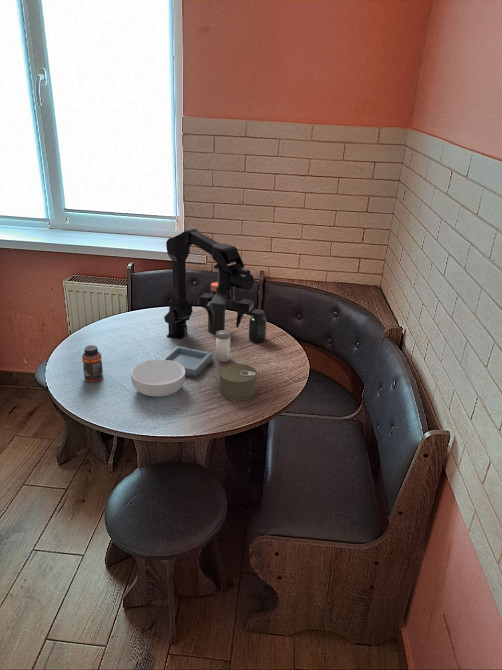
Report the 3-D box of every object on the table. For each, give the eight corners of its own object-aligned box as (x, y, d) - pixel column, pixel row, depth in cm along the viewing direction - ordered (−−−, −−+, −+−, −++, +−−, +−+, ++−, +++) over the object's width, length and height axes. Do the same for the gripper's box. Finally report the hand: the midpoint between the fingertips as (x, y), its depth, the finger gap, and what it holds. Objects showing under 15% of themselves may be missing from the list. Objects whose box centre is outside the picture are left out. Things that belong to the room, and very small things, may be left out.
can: (220, 380, 166) (220, 362, 163) (256, 382, 166) (257, 364, 163) (217, 399, 155) (217, 380, 152) (255, 402, 155) (256, 382, 152)
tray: (158, 369, 171) (157, 361, 170) (177, 353, 183) (176, 345, 182) (195, 377, 167) (195, 370, 166) (211, 360, 179) (212, 353, 178)
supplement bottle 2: (266, 336, 200) (267, 309, 195) (264, 343, 194) (266, 315, 189) (249, 335, 200) (250, 307, 196) (247, 342, 194) (248, 314, 189)
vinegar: (205, 332, 201) (205, 285, 193) (211, 326, 207) (212, 280, 199) (221, 335, 199) (222, 288, 191) (226, 328, 205) (228, 282, 197)
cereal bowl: (161, 410, 148) (160, 390, 145) (120, 393, 156) (119, 373, 153) (196, 387, 161) (196, 368, 158) (157, 372, 169) (156, 354, 166)
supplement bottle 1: (107, 376, 165) (104, 345, 160) (96, 384, 160) (93, 353, 155) (91, 372, 167) (88, 342, 162) (80, 380, 162) (77, 349, 157)
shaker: (213, 360, 179) (213, 334, 175) (218, 354, 184) (219, 329, 179) (226, 363, 178) (227, 337, 173) (232, 357, 182) (232, 331, 178)
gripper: (191, 286, 165) (191, 329, 171) (245, 294, 160) (243, 338, 166) (204, 277, 174) (203, 318, 181) (254, 284, 170) (252, 326, 176)
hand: (225, 325), depth 176 cm, fingers open, 9 cm apart
